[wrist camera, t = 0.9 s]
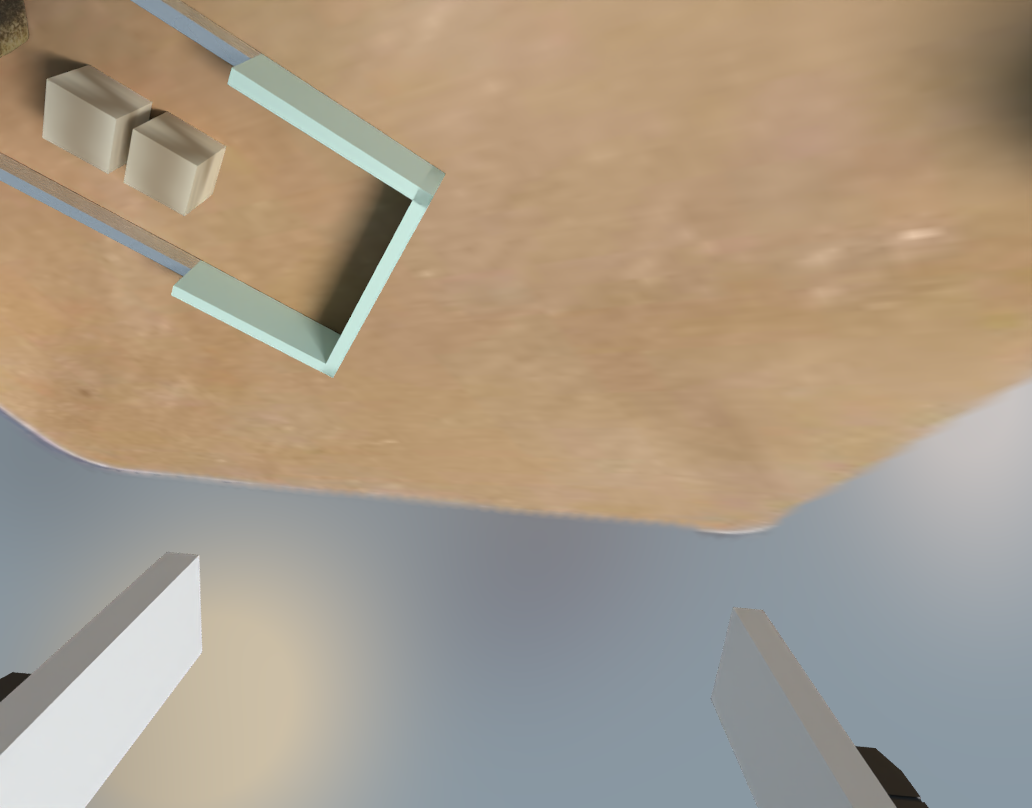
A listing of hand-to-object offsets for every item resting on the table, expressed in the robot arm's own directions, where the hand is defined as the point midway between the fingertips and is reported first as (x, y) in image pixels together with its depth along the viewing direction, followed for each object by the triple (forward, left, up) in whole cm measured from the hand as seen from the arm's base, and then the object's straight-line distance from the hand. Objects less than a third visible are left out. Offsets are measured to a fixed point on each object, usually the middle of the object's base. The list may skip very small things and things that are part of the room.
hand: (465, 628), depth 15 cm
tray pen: (-5, -17, -33) cm, 37 cm away
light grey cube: (-18, -23, -33) cm, 44 cm away
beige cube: (-13, -21, -33) cm, 41 cm away
